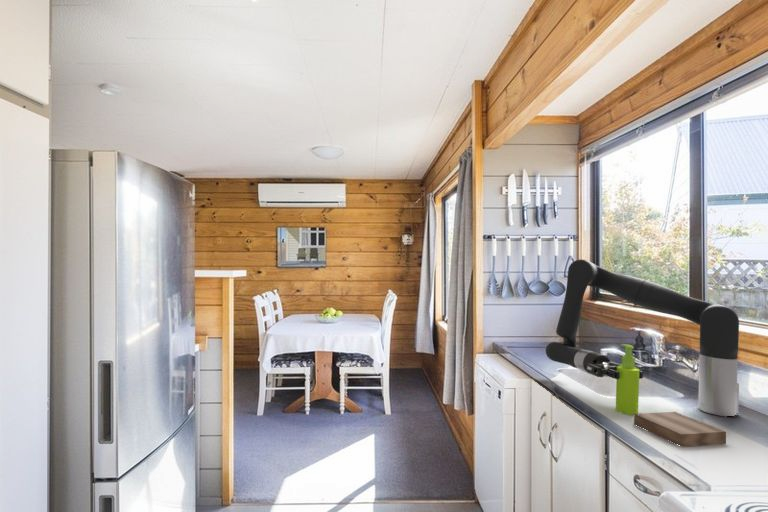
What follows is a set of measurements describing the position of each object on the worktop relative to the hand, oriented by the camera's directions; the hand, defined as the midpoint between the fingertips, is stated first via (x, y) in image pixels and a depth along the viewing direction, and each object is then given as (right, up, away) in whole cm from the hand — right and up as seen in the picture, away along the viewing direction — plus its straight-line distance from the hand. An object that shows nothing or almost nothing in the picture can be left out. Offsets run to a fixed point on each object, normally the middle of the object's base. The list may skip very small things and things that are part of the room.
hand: (630, 375), depth 124 cm
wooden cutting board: (+3, -11, -16) cm, 19 cm away
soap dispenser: (-1, -11, +1) cm, 11 cm away
